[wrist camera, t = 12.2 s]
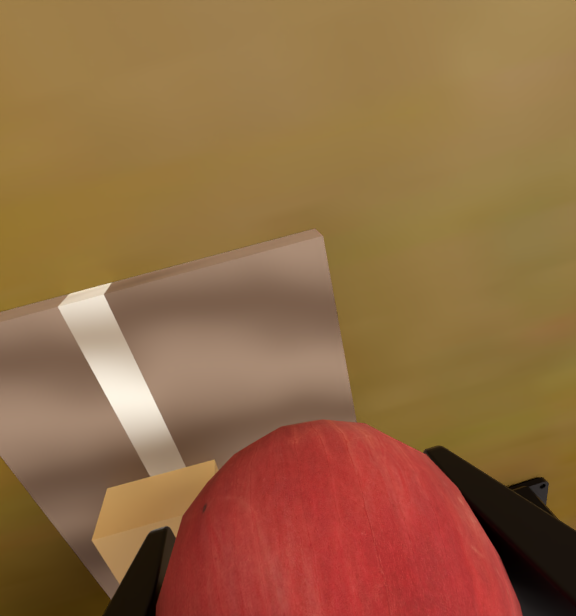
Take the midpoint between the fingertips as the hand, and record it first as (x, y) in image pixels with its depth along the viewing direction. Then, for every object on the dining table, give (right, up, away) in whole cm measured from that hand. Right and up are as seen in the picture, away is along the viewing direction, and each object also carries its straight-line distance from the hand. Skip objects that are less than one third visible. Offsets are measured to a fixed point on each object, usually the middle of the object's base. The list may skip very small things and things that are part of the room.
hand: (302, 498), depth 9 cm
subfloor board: (-6, -3, +14) cm, 15 cm away
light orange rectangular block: (-7, -9, +14) cm, 18 cm away
